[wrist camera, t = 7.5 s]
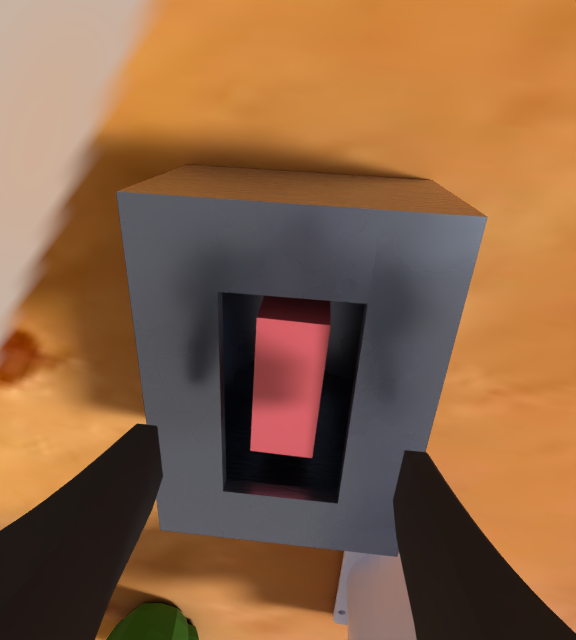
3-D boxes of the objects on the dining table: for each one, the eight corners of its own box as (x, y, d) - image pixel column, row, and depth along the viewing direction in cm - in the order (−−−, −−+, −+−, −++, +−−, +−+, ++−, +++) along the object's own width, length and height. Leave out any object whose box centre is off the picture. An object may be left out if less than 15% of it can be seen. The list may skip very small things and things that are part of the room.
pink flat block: (315, 385, 21) (312, 458, 17) (266, 379, 21) (250, 450, 17) (329, 273, 18) (330, 325, 14) (273, 267, 19) (256, 317, 14)
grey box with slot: (380, 444, 23) (397, 557, 17) (201, 427, 24) (160, 530, 18) (432, 180, 17) (487, 216, 11) (186, 164, 17) (116, 191, 12)
